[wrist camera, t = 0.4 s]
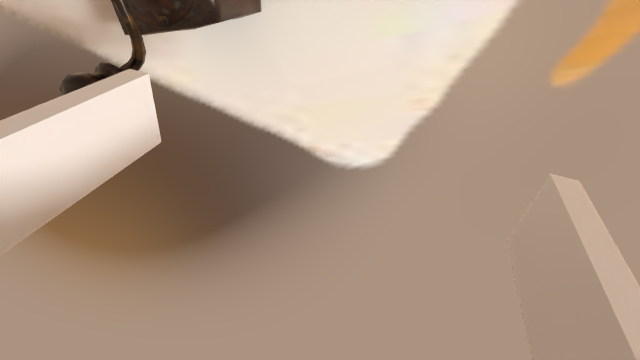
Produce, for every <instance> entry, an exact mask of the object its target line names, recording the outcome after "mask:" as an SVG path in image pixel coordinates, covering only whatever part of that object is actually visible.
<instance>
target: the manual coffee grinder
mask: <svg viewBox="0 0 640 360" xmlns="http://www.w3.org/2000/svg"><path fill="white" fill-rule="evenodd" d="M111 1H112V4H113V6H114V9H115V11H116V14H117V16H118V19H119V21H120V24H121V26H122V29H123V31H124V33H125V35H129V36H130V38H131V43H132V48H133V50H132V56H131V59H130V60H129V61H128V62H127V63H126V64H124V65H123V66H121V67H120V68H119V67H116V66H114V65H112V64H110V63H104V62H101V63H100V64H99V65H98V66H97V67H96V69H95V72H94V73H72V74H68V75H67V76H66V78H65V79H64V80H63V82H62V84H61V87H60V91H61V93H62V95H66V94H68V93H71V92H73V91H76V90H78V89H80V88H83V87H85V86H88V85H90V84H93V83H95V82H98V81H100V80H103V79H105V78H108V77H110V76H113V75H115V74H118V73H120V72H123V71H125V70H128V69H132V70H136V71H138V70H140V68H141V67H142V65H143V64H144V61H145V55H146V50H145V46H144V42H143V38H142V36H141V35H148V34H156V33H164V32H171V31H180V30H189V29H196V28H200V27H204V26H208V25H211V24H215V23H219V22H223V21H226V20H230V19H237V18H241V17H244V16H248V15H251V14H254V13H258V12H261V0H111Z"/></svg>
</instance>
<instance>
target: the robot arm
mask: <svg viewBox="0 0 640 360" xmlns="http://www.w3.org/2000/svg"><path fill="white" fill-rule="evenodd" d="M160 142H161V138H160V133H159V127H158V121H157V116H156V111H155V105H154V100H153V95H152V89H151V84H150V78H149V74H148V73H144V72H140V71H136V70H132V69H128V70H125V71H123V72H120V73H118V74H115V75H113V76H110V77H108V78H105V79H103V80H100V81H98V82H95V83H93V84H90V85H88V86H85V87H83V88H80V89H78V90H76V91H73V92H71V93H68V94H66V95H63V96H61V97H58V98H56V99H53V100H51V101H48V102H46V103H43V104H41V105H38V106H36V107H33V108H31V109H28V110H26V111H23V112H21V113H18V114H16V115H13V116H11V117H9V118H6V119H3V120H1V121H0V255H2V254H3V253H4V252H6V251H8V250H9V249H10V248H12V247H13V246H15V245H16V244H17V243H19V242H20V241H22V240H23V239H24V238H26V237H27V236H29V235H30V234H32V233H33V232H34V231H36V230H37V229H39V228H40V227H41V226H43V225H44V224H46V223H47V222H48V221H50V220H51V219H53V218H54V217H56V216H57V215H58V214H60V213H61V212H63V211H64V210H66V209H67V208H68V207H70V206H71V205H73V204H74V203H75V202H77V201H78V200H80V199H81V198H83V197H84V196H85V195H87V194H88V193H90V192H91V191H92V190H94V189H95V188H97V187H98V186H100V185H101V184H102V183H104V182H105V181H106V180H108V179H109V178H111V177H112V176H114V175H115V174H117V173H118V172H119V171H121V170H122V169H124V168H125V167H127V166H128V165H129V164H131V163H132V162H134V161H135V160H136V159H138V158H139V157H141V156H142V155H143V154H145V153H146V152H148V151H149V150H151V149H152V148H153V147H155V146H156V145H158V144H159V143H160ZM507 245H508V250H509V254H510V259H511V264H512V269H513V273H514V278H515V283H516V287H517V292H518V297H519V302H520V306H521V311H522V316H523V320H524V325H525V330H526V335H527V339H528V344H529V349H530V353H531V358H532V360H640V287H639V285H638V283H637V281H636V279H635V278H634V276H633V274H632V273H631V271H630V269H629V267H628V265H627V264H626V262H625V260H624V259H623V257H622V255H621V253H620V251H619V250H618V248H617V246H616V244H615V243H614V241H613V239H612V237H611V236H610V234H609V232H608V230H607V229H606V227H605V225H604V223H603V222H602V220H601V218H600V216H599V215H598V213H597V211H596V209H595V208H594V206H593V204H592V202H591V201H590V199H589V197H588V195H587V194H586V192H585V190H584V188H583V186H582V185H581V183H580V181H578V180H574V179H570V178H565V177H562V176H558V175H554V174H550V175H549V177H548V178H547V180H546V181H545V183H544V184H543V186H542V187H541V189H540V190H539V192H538V193H537V195H536V196H535V198H534V199H533V201H532V202H531V204H530V205H529V207H528V208H527V210H526V211H525V213H524V214H523V216H522V217H521V219H520V220H519V222H518V223H517V225H516V227H515V228H514V230H513V231H512V233H511V234H510V236H509V237H508V239H507Z"/></svg>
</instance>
